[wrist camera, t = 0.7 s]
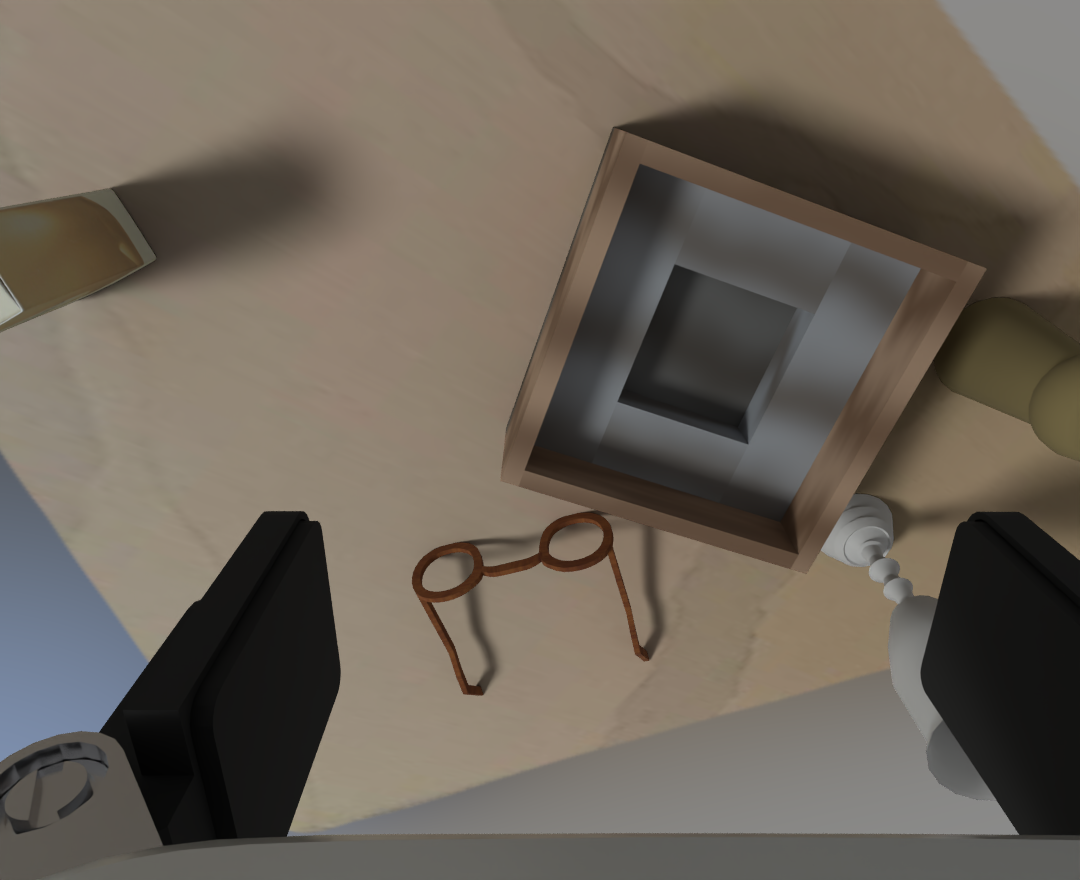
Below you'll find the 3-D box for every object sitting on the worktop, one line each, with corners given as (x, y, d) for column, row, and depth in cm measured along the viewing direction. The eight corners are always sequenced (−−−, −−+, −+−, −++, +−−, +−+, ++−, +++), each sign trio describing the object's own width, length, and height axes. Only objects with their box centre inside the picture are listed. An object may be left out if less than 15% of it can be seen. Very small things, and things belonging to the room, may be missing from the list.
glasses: (606, 502, 48) (613, 544, 44) (649, 655, 53) (659, 706, 49) (416, 548, 50) (403, 593, 45) (475, 693, 55) (469, 746, 50)
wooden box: (613, 127, 38) (627, 132, 32) (917, 242, 41) (987, 268, 35) (506, 427, 46) (500, 480, 39) (771, 511, 48) (806, 574, 42)
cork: (1062, 327, 43) (1221, 396, 33) (990, 413, 45) (1118, 501, 35) (982, 278, 42) (1121, 333, 32) (912, 368, 44) (1021, 447, 34)
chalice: (782, 561, 50) (900, 787, 33) (818, 472, 47) (967, 671, 30) (885, 579, 50) (1052, 811, 34) (927, 492, 47) (1130, 699, 31)
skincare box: (72, 304, 42) (-95, 376, 31) (21, 233, 41) (-175, 282, 30) (164, 257, 41) (25, 314, 30) (115, 182, 40) (-51, 213, 29)
